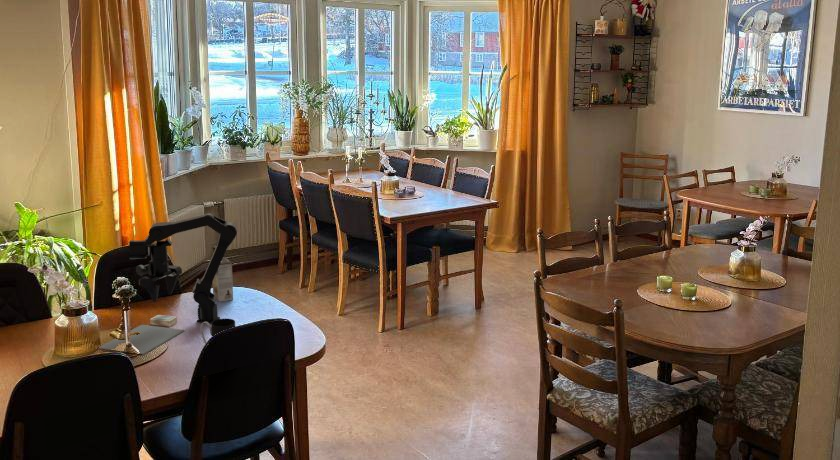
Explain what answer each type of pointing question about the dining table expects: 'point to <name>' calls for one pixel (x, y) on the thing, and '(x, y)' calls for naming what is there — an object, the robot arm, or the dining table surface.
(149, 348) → the grey rectangular board
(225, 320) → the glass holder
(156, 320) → the framed mirror
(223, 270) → the coffee box
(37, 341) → the dining table surface
